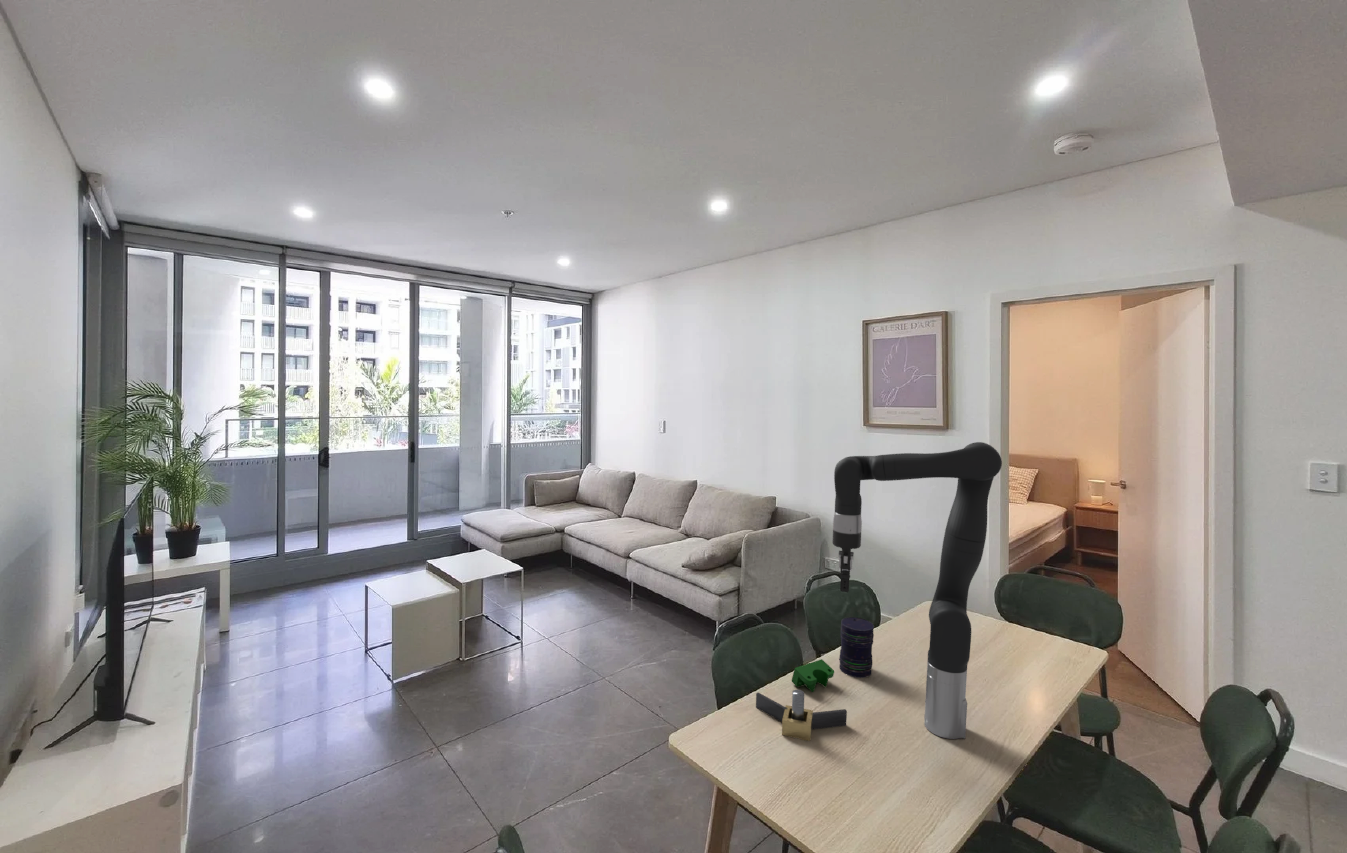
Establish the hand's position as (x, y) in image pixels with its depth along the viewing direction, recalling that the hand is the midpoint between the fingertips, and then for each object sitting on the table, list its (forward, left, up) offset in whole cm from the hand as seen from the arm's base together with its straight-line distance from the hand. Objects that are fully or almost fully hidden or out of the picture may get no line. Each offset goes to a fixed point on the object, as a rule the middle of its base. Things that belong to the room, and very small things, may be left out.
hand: (844, 586), depth 153 cm
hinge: (+10, +16, -33) cm, 38 cm away
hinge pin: (+10, +18, -33) cm, 39 cm away
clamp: (+8, -6, -34) cm, 35 cm away
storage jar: (-4, -20, -33) cm, 39 cm away
